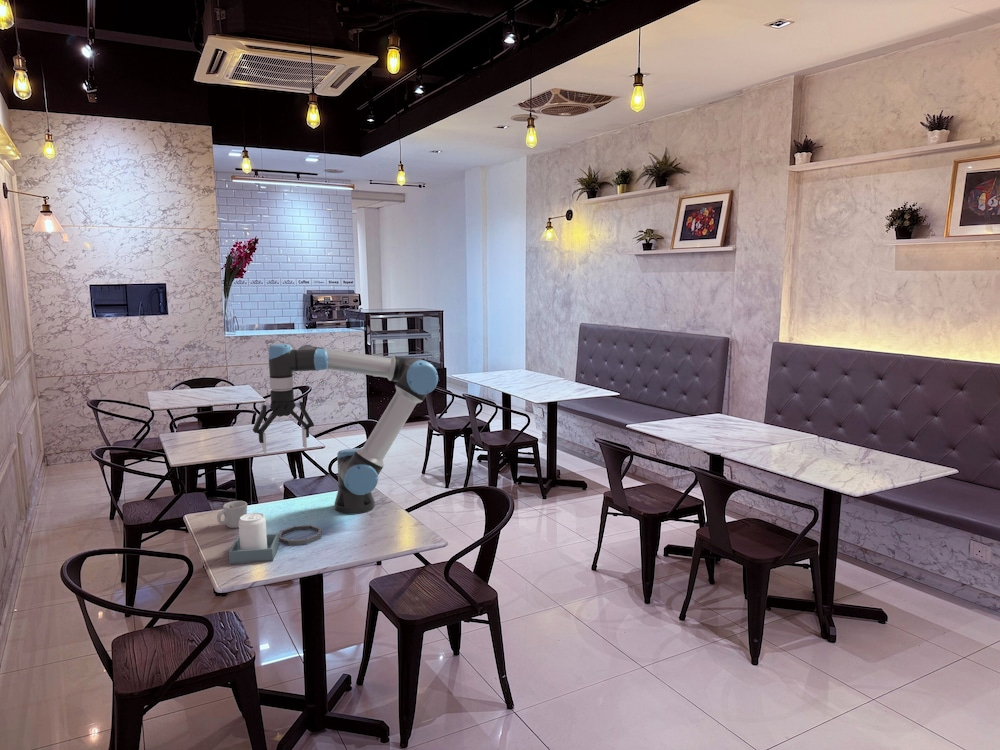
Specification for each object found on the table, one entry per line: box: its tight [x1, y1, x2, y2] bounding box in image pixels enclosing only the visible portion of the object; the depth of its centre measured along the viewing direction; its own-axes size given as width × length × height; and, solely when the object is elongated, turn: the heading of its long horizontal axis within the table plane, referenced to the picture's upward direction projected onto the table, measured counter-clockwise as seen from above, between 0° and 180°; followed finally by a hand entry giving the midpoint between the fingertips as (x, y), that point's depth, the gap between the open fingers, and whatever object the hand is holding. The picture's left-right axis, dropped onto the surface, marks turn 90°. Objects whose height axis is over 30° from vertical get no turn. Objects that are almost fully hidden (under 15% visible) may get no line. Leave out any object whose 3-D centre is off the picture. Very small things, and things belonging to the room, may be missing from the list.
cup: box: [216, 500, 248, 529], centre depth 237 cm, size 11×8×8 cm
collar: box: [278, 524, 323, 546], centre depth 228 cm, size 14×14×2 cm
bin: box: [228, 533, 280, 565], centre depth 214 cm, size 13×13×4 cm
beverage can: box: [238, 512, 268, 550], centre depth 213 cm, size 8×8×12 cm
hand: (285, 449), depth 232 cm, fingers open, 13 cm apart
